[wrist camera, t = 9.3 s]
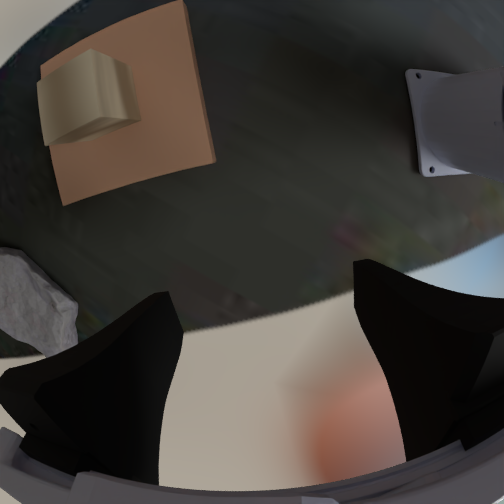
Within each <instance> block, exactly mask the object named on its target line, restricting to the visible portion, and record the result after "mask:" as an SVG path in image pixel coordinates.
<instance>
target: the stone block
mask: <svg viewBox="0 0 504 504" xmlns="http://www.w3.org/2000/svg"><path fill="white" fill-rule="evenodd" d="M77 313H78V303H77V302H76V301H75V300H74V299H73V298H72V297H71V296H70V295H69V294H67V293H66V292H65V291H64V290H63V289H61V287H60V286H58V285H57V284H56V283H55V282H54V281H52V280H51V279H50V278H49V277H48V276H47V275H46V274H45V272H44V271H43V270H42V269H41V268H40V267H39V266H37V265H36V264H35V263H34V261H32V260H31V259H30V258H29V257H28V256H27V255H26V254H25V253H24V252H23V251H22V250H16V249H13V248H7V247H1V248H0V329H2V330H3V331H5V332H6V333H7V334H9V335H11V336H12V337H14V338H15V339H17V340H19V341H22V342H25V343H28V344H30V345H32V346H34V347H35V348H36V349H37V350H38V351H40V352H42V353H43V354H44V355H45V357H46V358H48V357H50V356H53V355H55V354H58V353H60V352H62V351H64V350H66V349H69V348H71V347H73V346H75V345H77V344H78V339H77V338H78V336H77V331H76V327H75V320H76V317H77Z"/></svg>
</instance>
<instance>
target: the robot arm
mask: <svg viewBox="0 0 504 504" xmlns="http://www.w3.org/2000/svg"><path fill="white" fill-rule="evenodd" d="M416 74H418V76H419V79H418V78H417V77H416ZM405 77H406V81H407V86H408V91H409V96H410V101H411V107H412V113H413V119H414V126H415V133H416V142H417V151H418V162H419V172H420V174H421V175H422V176H425V177H431V176H443V175H456V174H470V173H472V174H476V175H479V176H483V177H486V178H489V179H493V180H496V181H499V182H502V183H504V67H498V68H491V69H484V70H479V71H473V72H467V73H462V74H457V75H456V74H450V73H443V72H436V71H428V70H418V69H409V70H407V71H406V72H405ZM430 167H432V171H431V172H430V171H429V169H430ZM353 273H354V308H355V311H356V314H357V317H358V320H359V322H360V325H361V328H362V330H363V332H364V334H365V336H366V338H367V340H368V342H369V344H370V346H371V347H372V349H373V351H374V353H375V355H376V357H377V359H378V361H379V363H380V365H381V367H382V370H383V372H384V374H385V377H386V380H387V383H388V385H389V389H390V392H391V395H392V398H393V402H394V405H395V409H396V413H397V416H398V420H399V425H400V429H401V434H402V438H403V444H404V449H405V456H406V462H405V463H402V464H399V465H396V466H393V467H390V468H387V469H384V470H380V471H377V472H374V473H370V474H366V475H362V476H358V477H354V478H350V479H345V480H341V481H336V482H331V483H325V484H319V485H313V486H306V487H298V488H291V489H279V490H266V491H206V490H192V489H181V488H173V487H165V486H159V469H158V468H159V467H158V465H159V445H160V435H161V427H162V420H163V413H164V407H165V402H166V398H167V395H168V391H169V388H170V385H171V382H172V379H173V376H174V372H175V369H176V366H177V363H178V360H179V356H180V352H181V347H182V340H183V334H184V331H183V329H182V326H181V324H180V321H179V319H178V316H177V313H176V311H175V308H174V305H173V303H172V300H171V297H170V295H169V292H168V291H166V292H158V293H154V294H152V295H150V296H148V297H147V298H145V299H144V300H142V301H141V302H140V303H138V304H137V305H135V306H134V307H133V308H131V309H130V310H129V311H127V312H126V313H125V314H123V315H122V316H121V317H119V318H118V319H116V320H115V321H114V322H112V323H111V324H109V325H108V326H106V327H105V328H104V329H102V330H101V331H99V332H98V333H96V334H94V335H93V336H91V337H89V338H88V339H86V340H84V341H82V342H81V343H79V344H77V345H75V346H73V347H71V348H69V349H66V350H64V351H62V352H60V353H58V354H55V355H53V356H50V357H48V358H45V359H42V360H39V361H36V362H33V363H30V364H26V365H22V366H17V367H13V368H9V369H8V370H6V371H5V372H4V373H3V375H2V376H1V377H0V404H1V405H2V406H3V408H4V409H5V410H6V411H7V413H8V414H9V415H10V416H11V417H12V418H13V419H14V420H15V422H16V423H17V424H18V425H19V426H20V427H21V428H22V429H23V430H24V431H25V432H26V434H25V436H24V438H23V437H21V436H20V435H19V434H17V433H15V432H13V431H11V430H9V429H7V428H5V427H2V428H1V429H0V487H1V488H2V489H3V490H4V491H6V492H7V493H8V494H10V495H11V496H12V497H14V498H15V499H16V500H18V501H19V502H21V503H22V504H497V503H499V502H500V501H501V500H503V499H504V298H491V297H481V296H475V295H469V294H464V293H459V292H455V291H451V290H447V289H444V288H440V287H436V286H434V285H430V284H428V283H425V282H422V281H420V280H417V279H414V278H412V277H410V276H407V275H405V274H403V273H400V272H398V271H396V270H394V269H392V268H389V267H387V266H385V265H383V264H381V263H378V262H376V261H373V260H370V259H364V260H359V261H354V262H353Z"/></svg>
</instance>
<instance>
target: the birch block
mask: <svg viewBox="0 0 504 504" xmlns="http://www.w3.org/2000/svg"><path fill="white" fill-rule="evenodd" d="M37 93H38V103H39V112H40V119H41V126H42V133H43V139H44V144H45V146H49V145H56V144H65V143H74V142H84V141H92V140H95V139H97V138H99V137H101V136H104V135H106V134H108V133H111V132H113V131H116V130H118V129H121V128H123V127H126V126H128V125H131V124H133V123H136V122H139V121H141V116H140V111H139V106H138V101H137V96H136V91H135V85H134V79H133V73H132V67H131V66H129V65H127V64H125V63H123V62H121V61H119V60H116V59H114V58H112V57H110V56H107V55H105V54H103V53H101V52H98V51H96V50H93V49H89V50H87V51H85V52H84V53H82V54H80V55H78V56H77V57H75V58H73V59H72V60H70V61H68V62H67V63H65V64H64V65H62V66H61V67H59V68H57V69H56V70H54V71H53V72H51V73H50V74H49V75H47V76H46V77H44V78H43V79H41V80H40V81H39V82H37Z"/></svg>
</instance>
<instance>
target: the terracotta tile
mask: <svg viewBox="0 0 504 504" xmlns="http://www.w3.org/2000/svg"><path fill="white" fill-rule="evenodd" d="M89 49H93V50H96V51H98V52H101V53H103V54H105V55H107V56H110V57H112V58H114V59H116V60H119V61H121V62H123V63H125V64H127V65H129V66H131V67H132V73H133V79H134V85H135V91H136V96H137V101H138V106H139V111H140V116H141V121H139V122H136V123H133V124H131V125H128V126H126V127H123V128H121V129H118V130H116V131H113V132H111V133H108V134H106V135H104V136H101V137H99V138H97V139H95V140H92V141H84V142H74V143H65V144H56V145H49V147H50V153H51V158H52V163H53V167H54V172H55V176H56V180H57V185H58V189H59V193H60V196H61V200H62V204H63V206H65V205H68V204H70V203H73V202H76V201H79V200H82V199H84V198H87V197H90V196H93V195H96V194H99V193H102V192H105V191H109V190H112V189H115V188H118V187H122V186H125V185H128V184H132V183H135V182H139V181H142V180H146V179H149V178H153V177H157V176H160V175H164V174H168V173H172V172H176V171H180V170H184V169H188V168H193V167H197V166H201V165H206V164H211V163H214V162H216V157H215V152H214V147H213V142H212V137H211V132H210V127H209V122H208V117H207V112H206V107H205V102H204V97H203V92H202V87H201V81H200V76H199V71H198V66H197V60H196V55H195V50H194V44H193V39H192V33H191V28H190V22H189V17H188V11H187V7H186V5H185V3H184V1H183V0H177V1H174V2H171V3H168V4H165V5H161V6H159V7H156V8H153V9H150V10H147V11H145V12H142V13H139V14H137V15H134V16H132V17H129V18H127V19H125V20H122V21H120V22H118V23H115V24H113V25H111V26H109V27H107V28H105V29H103V30H101V31H99V32H97V33H95V34H93V35H91V36H89V37H87V38H85V39H83V40H81V41H80V42H78V43H76V44H74V45H73V46H71V47H69V48H68V49H66V50H64V51H63V52H61V53H59V54H58V55H56V56H55V57H53V58H52V59H50V60H48V61H47V62H45V63H44V64H43V65H41V79H43V78H44V77H46V76H47V75H49V74H50V73H51V72H53V71H54V70H56V69H57V68H59V67H61V66H62V65H64V64H65V63H67V62H68V61H70V60H72V59H73V58H75V57H77V56H78V55H80V54H82V53H84V52H85V51H87V50H89Z"/></svg>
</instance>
